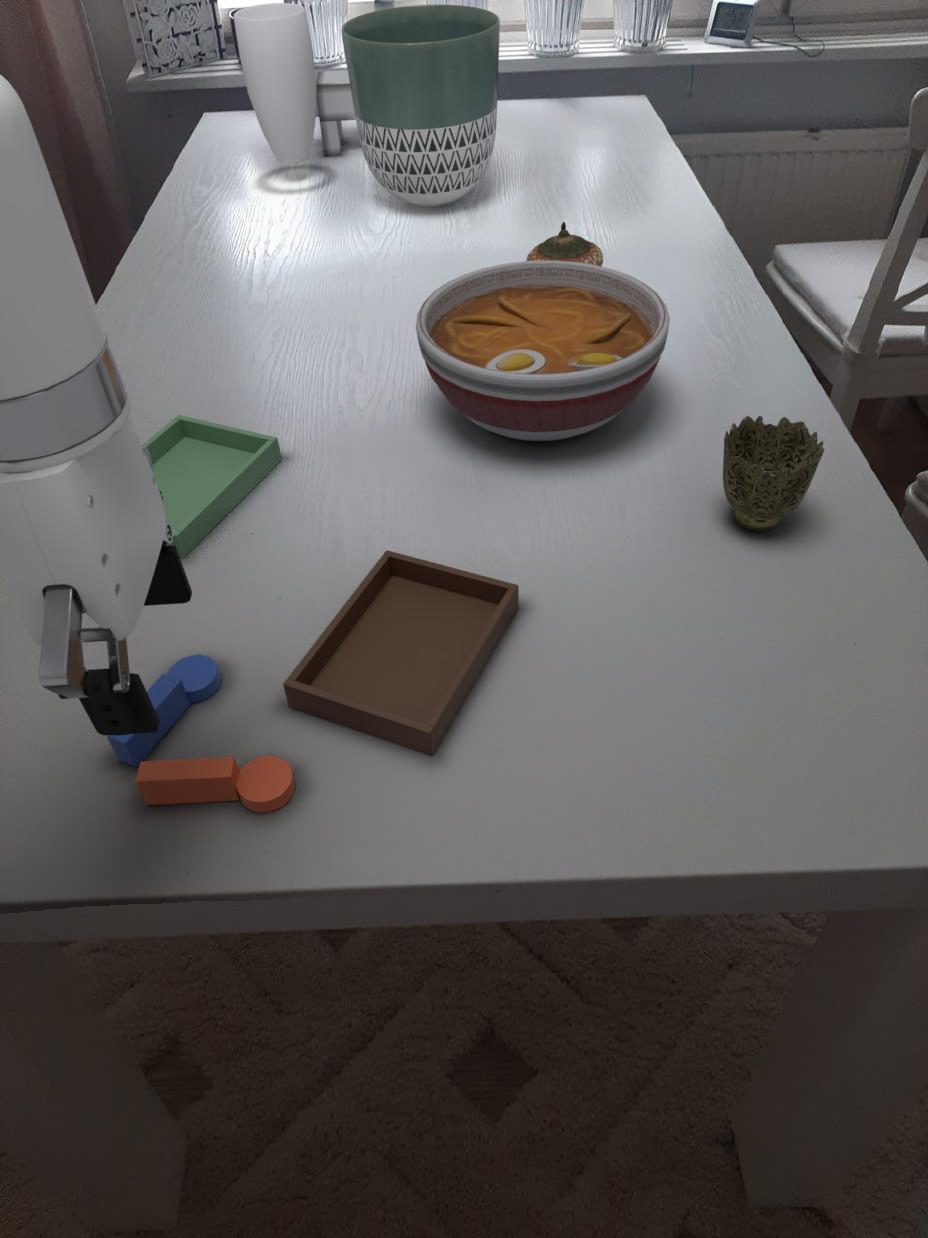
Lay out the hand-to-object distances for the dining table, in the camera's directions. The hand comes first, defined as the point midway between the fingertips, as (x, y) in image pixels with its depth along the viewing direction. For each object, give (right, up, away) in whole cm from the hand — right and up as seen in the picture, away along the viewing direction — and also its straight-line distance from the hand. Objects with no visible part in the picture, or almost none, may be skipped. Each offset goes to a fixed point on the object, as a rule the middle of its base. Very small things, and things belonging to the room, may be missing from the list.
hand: (149, 661), depth 52 cm
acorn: (+29, +37, +53) cm, 71 cm away
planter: (+13, +61, +79) cm, 101 cm away
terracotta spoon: (+2, -9, +8) cm, 12 cm away
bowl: (+25, +23, +39) cm, 52 cm away
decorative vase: (+42, +10, +25) cm, 50 cm away
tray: (+14, 0, +16) cm, 21 cm away
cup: (-7, +68, +88) cm, 111 cm away
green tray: (-7, +14, +32) cm, 35 cm away
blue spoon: (-3, -4, +13) cm, 14 cm away
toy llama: (+2, +78, +97) cm, 124 cm away
